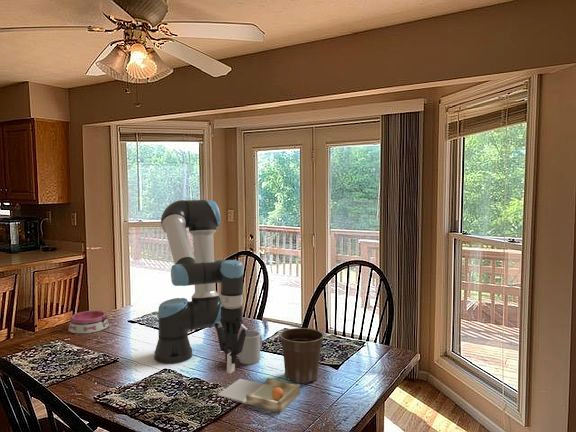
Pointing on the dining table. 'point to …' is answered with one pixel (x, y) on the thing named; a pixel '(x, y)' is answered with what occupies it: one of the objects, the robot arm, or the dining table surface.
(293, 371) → the plant pot
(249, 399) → the fence
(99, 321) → the dog bowl
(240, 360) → the mug
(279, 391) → the ball
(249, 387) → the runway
